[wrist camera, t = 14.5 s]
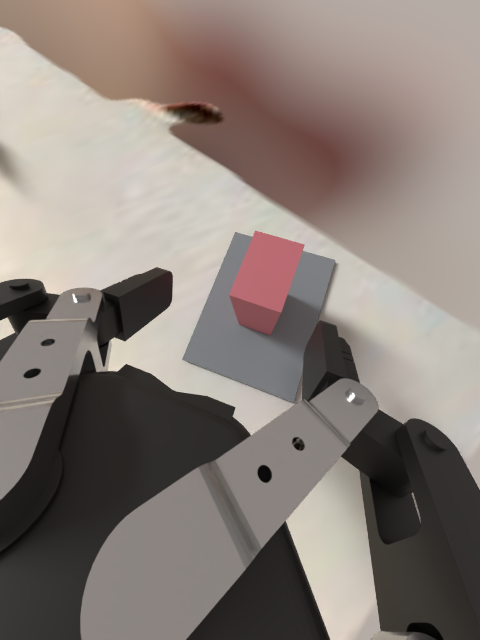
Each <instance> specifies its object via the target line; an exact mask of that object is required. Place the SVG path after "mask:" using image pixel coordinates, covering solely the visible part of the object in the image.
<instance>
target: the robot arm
mask: <svg viewBox="0 0 480 640" xmlns="http://www.w3.org/2000/svg"><path fill="white" fill-rule="evenodd" d="M172 284H173V276H172V273H171V272H170V271H167V270H164V269H161V268H158V267H157V268H154V269H152V270H150V271H147V272H145V273H143V274H138V275H134V276H132V277H130V278H128V279H125V280H123V281H122V282H118V283H116V284H114V285H112V286H109V287H107V288H105V289H103V290H100V291H99V290H97V289H93V288H75V289H71V290H68V291H65V292H63V293H62V294H61V295H56V294H49V293H46V290H45V287H44V284H43V283H42V282H41V281H38V280H34V279H15V280H9V281H5V282H1V283H0V320H2V319H4V318H7V317H8V319H9V321H10V323H11V325H12V327H13V329H14V331H15V333H14V334H12V335H10V336H8V337H6V338H4V339H2V340H0V640H330V638H329V635H328V633H327V630H326V627H325V625H324V622H323V619H322V617H321V614H320V611H319V609H318V606H317V603H316V601H315V598H314V595H313V593H312V590H311V587H310V585H309V582H308V579H307V577H306V574H305V571H304V569H303V566H302V563H301V561H300V558H299V555H298V553H297V550H296V547H295V545H294V542H293V539H292V537H291V534H290V531H289V529H288V526H287V523H286V519H287V518H288V517H289V516H290V515H291V514H292V512H293V511H294V510H295V509H296V508H297V507H298V505H299V504H300V503H301V502H302V501H303V500H304V498H305V497H306V496H307V495H308V494H309V493H310V491H311V490H312V489H313V488H314V487H315V486H316V484H317V483H318V482H319V481H320V480H321V479H322V477H323V476H324V475H325V474H326V473H327V472H328V470H329V469H330V468H331V467H332V466H333V465H334V463H335V462H336V461H337V460H338V459H339V458H340V456H341V457H342V458H344V459H345V460H346V461H348V462H349V463H350V464H352V465H353V466H354V467H356V468H357V469H359V471H360V479H361V486H362V494H363V501H364V509H365V516H366V524H367V531H368V539H369V546H370V554H371V561H372V569H373V576H374V584H375V591H376V599H377V606H378V614H379V621H380V629H381V631H380V632H378V633H376V634H374V636H373V637H372V638H371V640H480V490H479V488H478V486H477V484H476V482H475V480H474V479H473V477H472V475H471V473H470V471H469V469H468V468H467V466H466V464H465V462H464V460H463V458H462V456H461V455H460V453H459V451H458V449H457V448H456V447H455V445H454V444H453V443H452V442H451V440H450V439H449V438H448V437H447V436H446V435H445V434H443V433H442V432H441V431H440V430H438V429H437V428H436V427H434V426H433V425H431V424H429V423H427V422H425V421H423V420H420V419H410V420H408V421H407V422H406V423H405V424H402V423H400V422H399V421H397V420H395V419H394V418H392V417H390V416H389V415H387V414H385V413H384V412H382V411H381V410H379V409H378V402H377V400H376V398H375V397H374V395H373V394H372V393H371V392H370V391H369V390H368V389H367V388H366V387H365V386H363V385H362V384H360V381H359V378H358V374H357V371H356V367H355V363H354V362H353V361H354V360H353V356H352V353H351V349H350V346H349V345H348V344H347V342H346V341H345V340H344V339H343V338H340V337H338V332H337V327H336V325H333V324H330V323H327V322H324V321H319V322H318V324H317V325H316V327H315V329H314V331H313V333H312V335H311V337H310V339H309V341H308V343H307V345H306V348H305V351H304V356H303V386H302V401H300V402H299V403H297V404H296V405H294V406H293V407H291V408H290V409H288V410H287V411H286V412H284V413H283V414H281V415H280V416H278V417H277V418H276V419H274V420H273V421H271V422H270V423H268V424H267V425H265V426H264V427H263V428H261V429H260V430H258V431H257V432H255V433H254V434H253V435H250V433H249V432H248V431H247V430H246V429H245V427H244V426H243V425H242V424H241V423H240V422H238V421H237V420H236V419H235V418H233V414H234V411H235V407H233V406H230V405H228V404H225V403H223V402H220V401H218V400H215V399H213V398H210V397H208V396H202V395H195V394H188V393H182V392H176V391H173V390H172V389H170V388H169V387H168V386H167V385H165V384H164V383H163V382H161V381H160V380H159V379H157V378H156V377H155V376H153V375H152V374H150V373H147V372H145V371H142V370H140V369H137V368H135V367H132V366H130V365H127V364H126V365H124V366H123V367H122V368H121V369H120V370H119V371H118V372H116V371H108V365H109V358H110V352H111V346H112V343H111V339H112V338H114V337H115V338H118V339H120V340H123V341H126V340H127V339H129V338H130V337H131V336H133V335H134V334H135V333H136V332H138V331H139V330H140V329H141V328H143V327H144V326H145V325H147V324H148V323H149V322H150V321H152V320H153V319H154V318H156V317H157V316H158V315H159V314H161V313H162V312H163V311H165V310H166V309H167V308H168V307H169V306H170V304H171V301H172ZM412 492H413V493H414V496H415V500H416V503H417V506H418V509H419V513H420V518H421V524H420V521H419V517H418V514H417V511H416V507H415V504H414V501H413V497H412V494H411V493H412Z"/></svg>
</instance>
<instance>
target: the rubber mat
mask: <svg viewBox="0 0 480 640" xmlns="http://www.w3.org/2000/svg"><path fill="white" fill-rule="evenodd" d="M252 238H253V237H251V236H247V235H244V234H240V233H236V232H235V234H234V237H233V239H232V241H231V244H230V246H229V249H228V251H227V253H226V256H225V258H224V261H223V263H222V265H221V268H220V270H219V273H218V275H217V277H216V280H215V282H214V285H213V287H212V289H211V292H210V294H209V297H208V299H207V301H206V304H205V306H204V309H203V311H202V313H201V316H200V318H199V321H198V323H197V325H196V328H195V330H194V333H193V335H192V337H191V340H190V342H189V344H188V347H187V349H186V352H185V354H184V356H183V359H182V360H185V361H187V362H190V363H192V364H195V365H197V366H200V367H203V368H205V369H208V370H210V371H213V372H216V373H218V374H221V375H223V376H226V377H228V378H231V379H234V380H236V381H239V382H241V383H244V384H246V385H249V386H252V387H254V388H257V389H259V390H262V391H264V392H267V393H270V394H272V395H275V396H277V397H280V398H282V399H285V400H288V401H290V402H293V403H294V399H295V396H296V393H297V389H298V386H299V382H300V379H301V376H302V372H303V356H304V351H305V348H306V345H307V343H308V341H309V339H310V337H311V335H312V333H313V331H314V329H315V327H316V325H317V321H318V318H319V314H320V311H321V308H322V304H323V301H324V297H325V294H326V291H327V287H328V284H329V280H330V277H331V274H332V270H333V267H334V263H335V260H333V259H329V258H326V257H322V256H319V255H315V254H312V253H308V252H304V251H302V254H301V257H300V260H299V263H298V266H297V268H296V271H295V274H294V277H293V280H292V283H291V286H290V289H289V292H288V294H287V297H286V300H285V303H284V306H283V309H282V312H281V314H280V316H279V318H278V320H277V322H276V324H275V326H274V329H273V331H272V333H271V335H267V334H265V333H262V332H259V331H256V330H253V329H251V328H248V327H245V326H242V325H239V323H238V320H237V317H236V314H235V311H234V308H233V305H232V302H231V299H230V297H229V294H230V291H231V289H232V286H233V284H234V282H235V279H236V277H237V274H238V272H239V269H240V267H241V264H242V262H243V260H244V257H245V255H246V252H247V250H248V247H249V245H250V242H251V240H252Z"/></svg>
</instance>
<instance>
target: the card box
mask: <svg viewBox="0 0 480 640" xmlns="http://www.w3.org/2000/svg"><path fill="white" fill-rule="evenodd" d="M303 248H304V244H300V243H297V242H293V241H290V240H286V239H283V238H279V237H276V236H272V235H269V234H265V233H262V232H258V231H255V233H254V235H253V238H252V240H251V242H250V245H249V247H248V250H247V252H246V255H245V257H244V260H243V262H242V264H241V267H240V269H239V272H238V274H237V277H236V279H235V282H234V284H233V286H232V289H231V291H230V294H229V297H230V299H231V302H232V305H233V308H234V311H235V314H236V317H237V320H238V323H239V325H242V326H245V327H248V328H251V329H253V330H256V331H259V332H262V333H265V334H267V335H271V333H272V331H273V329H274V326H275V324H276V322H277V320H278V318H279V316H280V314H281V312H282V309H283V306H284V303H285V300H286V297H287V294H288V292H289V289H290V286H291V283H292V280H293V277H294V274H295V271H296V268H297V266H298V263H299V260H300V257H301V254H302V251H303Z"/></svg>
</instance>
